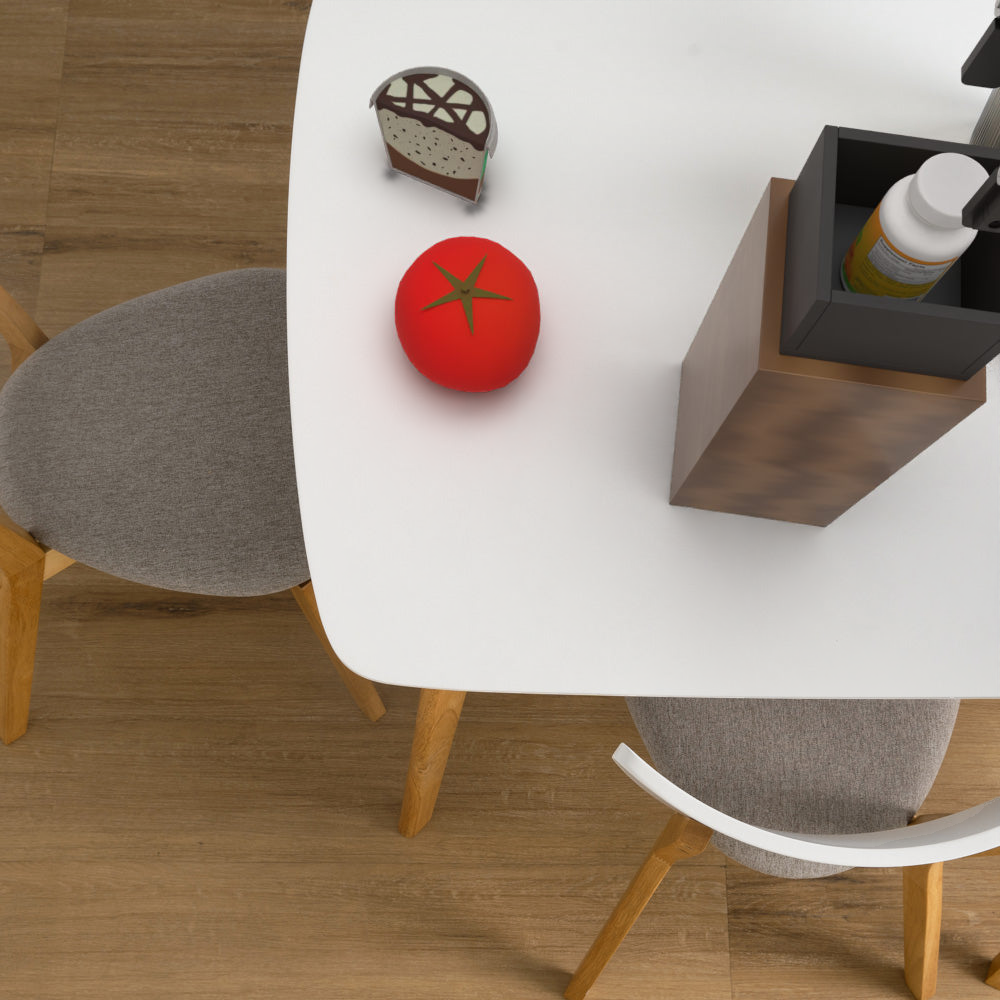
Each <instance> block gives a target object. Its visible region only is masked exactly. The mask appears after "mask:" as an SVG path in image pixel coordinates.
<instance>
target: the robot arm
mask: <svg viewBox="0 0 1000 1000" xmlns="http://www.w3.org/2000/svg"><path fill="white" fill-rule="evenodd" d="M993 15H994V18H993V19H992V21H991V22H990V24H989V26H988V27H987V29H986V30H985V31H984V33H983V34H982V36H981V37H980V39H979V40H978V42H977V43H976V44H975V46H974V48H973V49H972V50H971V52H970V53H969V55H968V57H967V58H966V60H965V61H964V63H963V64H962V66H961V67H960V68H961V69H960V81H961V83H962V84H963V85H964V86H969V87H977V88H984V89H991V90H992V89H994V90H995V89H998V88H1000V0H995V4H994V9H993ZM962 225H963V226H964V227H967V228H972V229H974V230H981V231H988V232H995V233H1000V167H997V168H996V169H995V170H994V172H993V173H992V174H991V175H990V176H989V178H988V179H987V180H986V181H985V182H984V184H983V185H982V186H981V187H980V188H979V190H978V191H977V192H976V193H975V194H974V196H973V197H972V198H971V199H970V200H969V202H968V203H967V204H966V205H965V206H964V208H963V209H962Z"/></svg>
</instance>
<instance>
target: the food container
mask: <svg viewBox="0 0 1000 1000" xmlns="http://www.w3.org/2000/svg"><path fill="white" fill-rule="evenodd" d="M368 104H369V105H368V109H372V108H374V110H375V114H376V119H377V122H378V126H379V130H380V133H381V138H382V141H383V145H384V146H383V147H384V150H385V153H386V157H387V161H388V164H389V169H390V170H392V171H394V172H396V173H399V174H401V175H404V176H406V177H408V178H411V179H413V180H416V181H418V182H420V183H423V184H425V185H428V186H430V187H433V188H435V189H438V190H440V191H442V192H445V193H447V194H449V195H451V196H454V197H456V198H459V199H461V200H463V201H465V202H469V203H471V204H473V205H478V202H479V200H480V197H481V194H482V188H483V185H484V177H485V172H486V167H487V161H488V155H489V158H490V159H493V157H494V155H495V152H496V149H497V146H498V139H499V129H498V122H497V119H496V115H495V112H494V109H493V106H492V104H491V102H490V100H489V98H488V96H487V95H486V94H485V92H484V91H483V89H482V88H481V87H480V86H479V85H478V84H477V83H476V82H474V81H473V80H472V79H471V78H469V77H468V76H467V75H465V74H462V73H461V72H459V71H456V70H453V69H451V68H448V67H447V68H446V67H441V66H435V65H434V66H433V65H423V66H422V65H421V66H415V67H409V68H406V69H403V70H400V71H398V72H396V73H394V74H392V75H391V76H389V77H388V78H386V79H385V80H383V81H382V82H381V83H380V84H379V85H378V86H377V87H376V88H375V90H373V92H372V94H371V97H370V98H369V103H368ZM373 106H374V107H373Z"/></svg>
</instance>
